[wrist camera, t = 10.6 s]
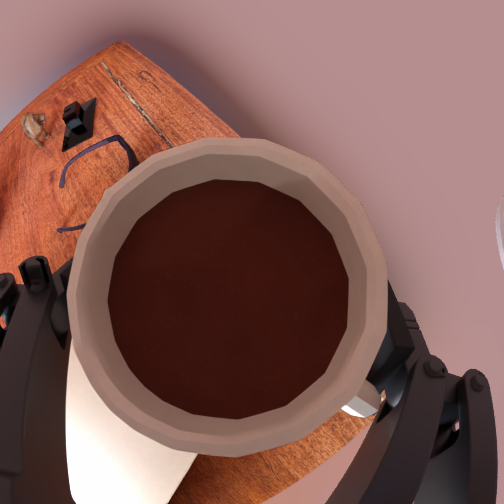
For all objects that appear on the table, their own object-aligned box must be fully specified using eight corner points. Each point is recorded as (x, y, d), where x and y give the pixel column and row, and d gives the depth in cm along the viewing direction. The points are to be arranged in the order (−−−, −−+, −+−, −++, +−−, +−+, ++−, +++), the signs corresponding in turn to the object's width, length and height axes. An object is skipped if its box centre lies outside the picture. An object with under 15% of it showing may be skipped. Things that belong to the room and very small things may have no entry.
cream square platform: (223, 406, 28) (215, 422, 22) (152, 523, 21) (140, 543, 16) (59, 297, 31) (33, 290, 26) (22, 422, 25) (0, 428, 19)
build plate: (69, 112, 42) (60, 99, 38) (97, 98, 43) (89, 83, 38) (62, 152, 39) (50, 138, 34) (93, 136, 39) (82, 120, 35)
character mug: (151, 304, 18) (3, 252, 5) (216, 227, 19) (163, 78, 7) (274, 406, 16) (307, 538, 3) (340, 323, 17) (484, 300, 5)
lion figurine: (62, 133, 40) (40, 106, 31) (46, 154, 39) (21, 129, 30) (37, 121, 42) (19, 99, 34) (23, 139, 41) (3, 118, 32)
